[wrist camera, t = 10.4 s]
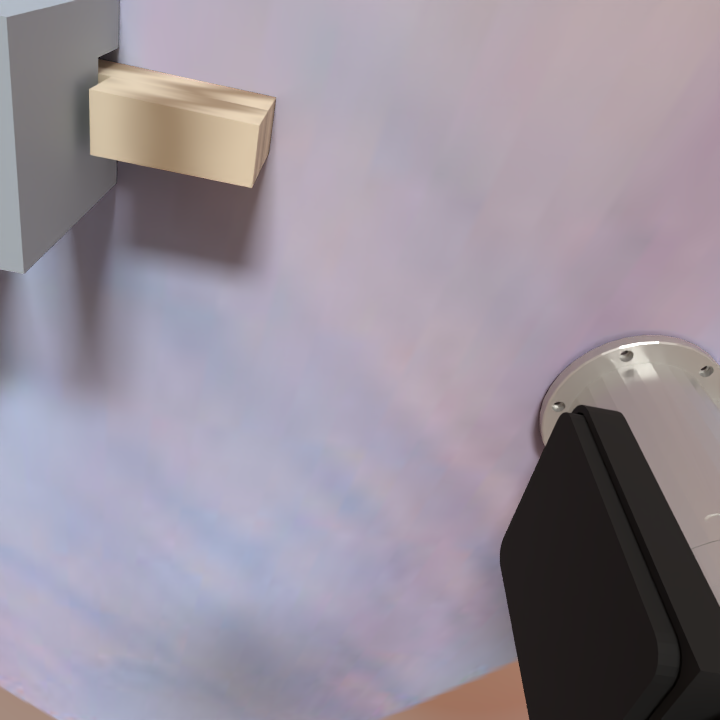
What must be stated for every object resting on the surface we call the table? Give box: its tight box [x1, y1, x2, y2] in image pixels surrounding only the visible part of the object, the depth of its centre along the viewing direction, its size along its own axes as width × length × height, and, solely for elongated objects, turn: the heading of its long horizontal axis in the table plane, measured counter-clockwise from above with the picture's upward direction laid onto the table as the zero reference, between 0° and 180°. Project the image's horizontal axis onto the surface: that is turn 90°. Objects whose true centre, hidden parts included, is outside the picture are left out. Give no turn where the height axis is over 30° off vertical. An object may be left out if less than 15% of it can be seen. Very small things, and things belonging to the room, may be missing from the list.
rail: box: [89, 59, 276, 188], centre depth 33 cm, size 20×3×6 cm, turn 78°
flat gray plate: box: [0, 0, 119, 274], centre depth 31 cm, size 10×3×12 cm, turn 168°
